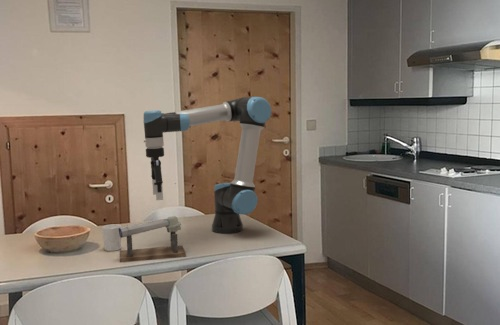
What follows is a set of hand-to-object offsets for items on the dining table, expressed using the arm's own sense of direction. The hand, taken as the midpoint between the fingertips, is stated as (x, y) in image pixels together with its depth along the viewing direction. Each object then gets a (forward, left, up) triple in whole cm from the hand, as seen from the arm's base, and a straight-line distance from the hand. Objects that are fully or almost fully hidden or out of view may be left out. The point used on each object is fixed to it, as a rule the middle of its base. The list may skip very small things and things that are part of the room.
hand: (158, 197), depth 234 cm
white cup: (+20, -5, -23) cm, 30 cm away
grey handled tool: (+4, +10, -14) cm, 17 cm away
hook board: (+4, +10, -22) cm, 25 cm away
